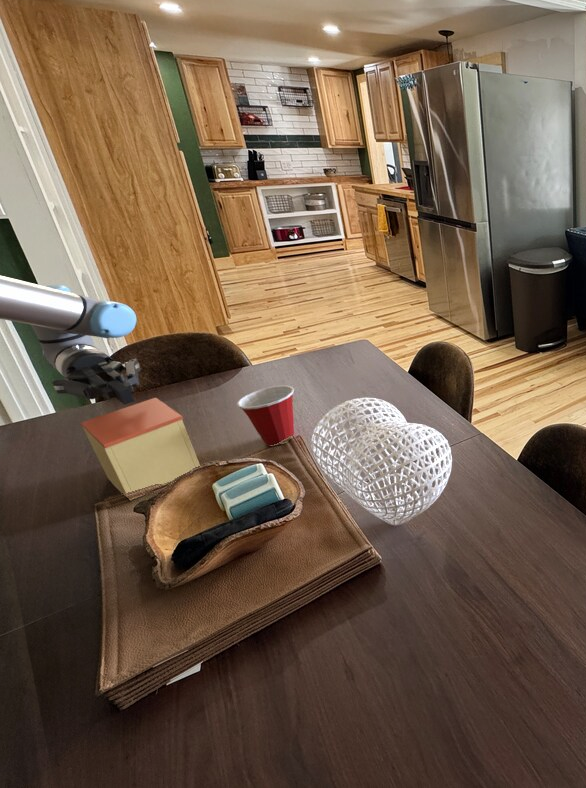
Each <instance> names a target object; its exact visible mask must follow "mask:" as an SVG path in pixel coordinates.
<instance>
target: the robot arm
mask: <svg viewBox="0 0 586 788" xmlns="http://www.w3.org/2000/svg"><path fill="white" fill-rule="evenodd" d="M0 320H5V321H8V322H9V321H10V322H16V323H19V324H26V325H30V326H31V328H32V330H33V332H34V334H35V336H36V338H37V340H38V342H39V345H40V347H41V349H42V357H43V359H45V362H46V364H47V365H48V366H51V368H53V369H55V370H56V371H57V372H59V373H60V374H61V375H62V376H63V377H64V379H55V380H52V381H51V384H52V386H53V388H54V391H55V392H56V393H57V394H67V395H71V396H75V397H80V398H84V399H86V400H95V399H97V398H98V397H99V396H102V397H103V399H104V400H105V401H108V400H111V399H113V398H115V399H116V400H118V401H119V402H120V403H121V404H123V405H127V404H130V403H134V402H135V398H134V397H133V394H132V393H133V392H135V390H134V389H135V388H133V387H138V386H139V385H140V378H139V372H140V371H141V370H142V368H141V366H140V363H139V361H138V359H137V358H132V359H130V360H128V361H126V362H124V363H123V362H121V361H116V360H115V359H114V358H112V357H111V356H109V355H108V354H106V352H104V351H102V350H101V349H100V348H98V347H96V345H95V342H94V340H93V338H92V337H97V338H102V339H117V338H123V337H125V336H127V335H129V334H130V333H131V332H132V331H133V330H134V329H135V327H136V325H137V315H136V312H135V311H134V310H133V309H132V307H130V306H129V305H127V304H124V303H121V302H117V301H113V300H101V299H97V298H93V297H89V296H85V295H80V294H77V293H73V292H72V291H71V289H70V288H69V287H67V286H66V285H63V284H52V285H41V284H36V283H32V282H29V281H24V280H22V279H21V280H20V279H16V278H12V277H8V276H5V275H0ZM123 372H125V373H126V377H125V375H124V374H122V373H123Z"/></svg>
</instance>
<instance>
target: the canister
mask: <svg viewBox="0 0 586 788" xmlns="http://www.w3.org/2000/svg"><path fill="white" fill-rule="evenodd" d="M81 427H82V429H83V431H84V433H85V435H86V437H87V440H88V441H89V443H90V445H91V447H92V450H93V451H94V454H95V455H96V458H97V459H98V462H99V463H100V466H101V468H102V469H103V471H104V473H105V477H106V478H107V479H108V480H109V482H111V484H112V485H113V486H114V487H115V488H116V490H118V491H119V492H120V493H121V494H122V493H128V492H132V491H135V490H138V489H142V488H145V487H148V486H151V485H155V484H164V483H167V482H170V481H172V480H174V479H175V478H177V477H179V476H181V475H183V474H185V473H187V472H189V471H190V470H192V469H193V468H195V467H198V466H200V467H201V464H200V462H199V459H198V457H197V454H196V452H195V449H194V446H193V444H192V442H191V439H190V437H189V434H188V431H187V429H186V426H185V424H184V421H183V419H182V420H179V421H177V422H174V423H171V424H169V425H166V426H163V427H161V428H158V429H156V430H153V431H150V432H148V433H145V434H142V435H140V436H137V437H134V438H132V439H129V440H126V441H124V442H121V443H118V444H116V445H113V446H110V447H108V448H104V447H103V446H102V445H101V444H100V443H99V442H98V441H97V440H96V439H95V438H94V437H93V436H92V435H91V434H90V433H89V432H88V431H87V430H86V429H85V428H84V427H83V426H82V425H81Z"/></svg>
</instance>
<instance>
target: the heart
mask: <svg viewBox="0 0 586 788" xmlns="http://www.w3.org/2000/svg"><path fill="white" fill-rule="evenodd" d="M368 404H369V405H370V406H368ZM343 409H344V410H343ZM374 410H375V411H376V412H374ZM353 411H354V412H353ZM367 411H369V412H370V414H366V413H365V412H367ZM345 414H346V415H345ZM343 418H344V419H343ZM374 418H375V419H374ZM351 420H355V421H354V422H352V421H351ZM330 421H332V422H331V423H330ZM367 421H369V422H367ZM376 422H379V423H376ZM347 423H348V426H349V427H348V428H347V427H345V424H347ZM360 423H361V424H360ZM337 426H338V427H337ZM333 428H334V429H333ZM364 428H365V429H366V430H365V431H363V429H364ZM341 429H342V431H340V430H341ZM354 430H356V431H355V432H354ZM358 433H359V434H360V435H359V436H356V435H357V434H358ZM347 434H349V435H350V437H349V438H348V435H347ZM426 434H427V435H426ZM328 436H329V438H328ZM382 436H383V437H382ZM380 437H381V438H380ZM336 438H337V440H338V441H337V444H336V442H335V439H336ZM321 439H322V440H321ZM389 439H390V440H392V441H390V440H389ZM403 440H404V443H402V442H403ZM374 441H375V442H374ZM424 441H425V442H424ZM430 441H431V443H430ZM351 443H352V444H351ZM425 443H426V444H425ZM394 444H396V445H397V446H396V447H395V446H394ZM407 444H408V445H407ZM378 445H380V447H381V448H379V449H378V448H377V446H378ZM416 445H417V446H416ZM441 446H442V447H441ZM310 447H311V452H312V455H313V457H314V461H315V462H316V463H317V465H318V467H319V468H320V469H321V471H322V472H323V473H324V475H326V476H327V477H328V478H329V479H331V481H332V482H333V483H334V484H336V485H337V486H338V487H339V488H340V489H342V491H344V492H345V493H346V494H347V495H348V496H349V497H350V498H351V499H352V500H353V501H355V502H356V503H357V504H358V505H359V506H361V507H362V508H363V509H364V510H366V511H367V512H369V513H370V514H372V515H374V516H375V517H377V518H378V519H379V520H381V521H383V522H385V523H386V524H389V525H391V526H400V525H403V524H406V523H407V522H409V521H410V520H412V519H414V518H415V517H417V516H419V515H421V514H422V513H423V512H425V511H427V509H429V508H430V507H431V506H432V505H433V504H434V503H435V502H436V501H437V500H438V498H440V496H441V494H442V493H443V491H444V489H446V486H447V485H448V482H449V479H450V476H451V472H452V468H453V467H452V466H453V465H452V464H453V457H452V449H451V446H450V443H449V441H448V439H447V438H446V437H445V436H444V435H443V434H442V433H441V432H439V431H438V430H436V429H435V428H433V427H430V426H429V425H426V424H422V423H415V422H408V421H407V420H406V417H405V416H404V415H403V413H402V412H401V411H400V410H399V409H398V408H397V407H396V406H395V405H394V404H392V403H390V402H388V401H386V400H383V399H380V398H375V397H358V398H353V399H350V400H346V401H344V402H342V403H339V404H337V405H335V406H334V407H332V408H331V409H330V410H328V412H326V414H324V415H323V417H321V419H320V420H319V422H317V424H316V426H315V428H314V430H313V432H312V434H311V439H310ZM326 447H327V450H326V449H325V448H326ZM332 447H333V449H332ZM347 447H349V449H347ZM399 448H400V449H399ZM426 448H427V449H426ZM346 449H347V451H346ZM411 449H412V450H411ZM365 450H366V451H365ZM372 450H374V451H375V452H371V451H372ZM388 450H389V451H390V452H391V453H389V452H388ZM437 450H438V455H437ZM382 452H384V453H385V454H386V456H385V455H384V454H383V453H382ZM431 452H432V453H431ZM403 454H404V455H403ZM377 455H378V457H379V458H380V459H378V460H376V458H375V457H376V456H377ZM410 455H411V456H410ZM337 456H338V457H337ZM359 457H360V458H359ZM394 457H395V458H396V459H395V460H394ZM401 458H402V459H404V460H403V461H402V460H401ZM426 458H427V460H428V461H426ZM432 458H433V461H432ZM363 460H364V462H363V463H361V462H362V461H363ZM389 460H390V461H391V463H390V461H389ZM415 461H416V463H415ZM369 462H370V463H369ZM419 464H421V466H420V465H419ZM425 464H426V465H427V466H426V465H425ZM335 465H336V466H335ZM381 465H383V466H384V467H382V468H381V467H380V466H381ZM408 465H409V466H408ZM358 468H359V469H358ZM368 468H369V470H367V469H368ZM389 468H390V470H389ZM412 468H413V469H412ZM399 469H400V473H397V470H399ZM418 469H419V471H418ZM374 470H375V471H374ZM430 470H432V473H430ZM436 470H437V472H436ZM383 471H385V472H383ZM362 472H363V473H364V475H363V477H362V475H361V473H362ZM378 473H379V476H376V474H378ZM404 473H405V474H404ZM411 473H412V474H411ZM424 474H425V478H423V475H424ZM390 477H393V482H392V483H391V478H390ZM416 477H417V480H418V481H417V480H416ZM366 479H367V480H368V482H367V481H365V480H366ZM381 481H382V483H383V486H382V487H381V485H380V483H379V482H381ZM408 483H409V485H408ZM433 483H435V484H434V486H433ZM414 485H416V486H415V487H414ZM397 486H399V487H398V488H399V489H398V490H397ZM403 486H404V487H403ZM371 487H372V489H371ZM425 487H427V489H426V491H425ZM393 488H394V490H393ZM407 489H409V490H407ZM388 490H389V492H388ZM383 491H386V494H384V492H383ZM417 491H419V492H417ZM375 494H376V495H377V496H378V498H377V497H376V495H375ZM411 494H412V495H411ZM381 503H382V504H383V505H382V504H381ZM390 504H391V505H390ZM393 509H394V510H393Z"/></svg>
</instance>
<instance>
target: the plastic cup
mask: <svg viewBox="0 0 586 788" xmlns="http://www.w3.org/2000/svg"><path fill="white" fill-rule="evenodd" d="M294 391H295V388H294V387H293V386H292V385H286V384H283V385H273V386H269V387H264V388H261V389H258V390H255V391H253V392H251V393H248V394H245V395H244V396H243V397H241V398H240V399H238V401H237V402H236V406H237V407H238V408H239V409H241V410H242V411H243V413H245V415H246V416H247V417H248V419H249V421H250V422H251V424H252V425H253V428H254V429H255V430H256V432H257V434H258V435H259V437H260V438H261V440H262V442H263V443H264V444H265V445H266V446H267V447H270V445H274V444H277V443H279V442H281V441H282V440H284V439H286V438H288V437H289V436H293V435H294V436H295V425H294V424H295V420H294V419H295V418H294V405H293V401H294V400H293V399H294V398H293V397H294Z"/></svg>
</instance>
